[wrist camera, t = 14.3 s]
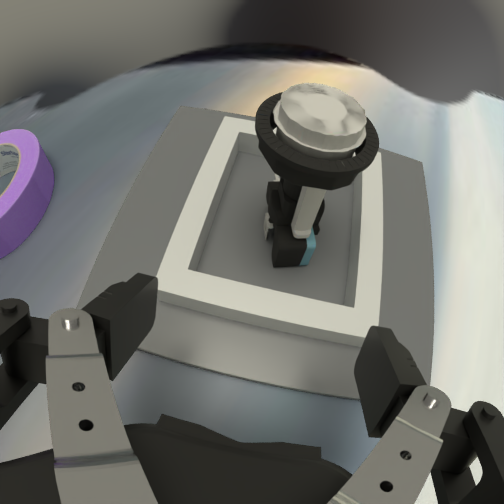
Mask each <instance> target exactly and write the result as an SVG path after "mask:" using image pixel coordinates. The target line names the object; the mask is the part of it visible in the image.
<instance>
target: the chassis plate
mask: <svg viewBox="0 0 504 504" xmlns="http://www.w3.org/2000/svg"><path fill="white" fill-rule="evenodd" d="M255 118H256V117H251V116H246V115H240V114H234V113H228V112H222V111H215V110H208V109H201V108H193V107H185V106H180V107H179V109H178V110H177V112H176V113H175V115H174V116H173V118H172V119H171V121H170V123H169V124H168V126H167V127H166V129H165V131H164V132H163V134H162V135H161V137H160V139H159V140H158V142H157V144H156V145H155V147H154V149H153V150H152V152H151V154H150V156H149V157H148V159H147V161H146V162H145V164H144V166H143V168H142V170H141V171H140V173H139V175H138V177H137V178H136V180H135V182H134V184H133V186H132V188H131V190H130V191H129V193H128V195H127V197H126V199H125V201H124V203H123V205H122V207H121V209H120V211H119V213H118V215H117V217H116V219H115V221H114V223H113V225H112V227H111V229H110V231H109V233H108V235H107V237H106V239H105V242H104V244H103V246H102V248H101V250H100V252H99V255H98V257H97V259H96V261H95V264H94V266H93V268H92V271H91V273H90V275H89V278H88V280H87V282H86V285H85V287H84V290H83V292H82V295H81V297H80V300H79V302H78V305H77V307H76V309H80V310H81V309H82V308H83V307H84V306H86V305H87V304H88V303H89V302H91V301H92V300H93V299H94V298H96V297H98V295H99V294H101V293H102V292H104V290H106V289H107V288H108V287H109V286H111V285H113V284H116V283H119V282H122V281H124V282H127V281H128V280H129V279H130V278H132V277H133V276H134V275H135V274H137V273H142V274H146V275H150V276H154V277H157V278H158V293H157V305H156V317H155V321H154V325H153V327H152V329H151V331H150V332H149V333H148V335H147V336H146V337H145V339H144V340H143V341H142V343H141V344H140V345H139V347H138V348H137V349H139V350H142V351H145V352H148V353H151V354H154V355H157V356H160V357H163V358H166V359H170V360H173V361H176V362H180V363H183V364H187V365H190V366H194V367H197V368H201V369H205V370H208V371H212V372H216V373H220V374H224V375H228V376H232V377H236V378H240V379H244V380H249V381H253V382H257V383H262V384H267V385H271V386H276V387H281V388H286V389H292V390H297V391H303V392H308V393H314V394H320V395H326V396H333V397H340V398H347V399H354V400H360V397H359V393H358V389H357V385H356V381H355V377H354V366H355V362H356V359H357V357H358V354H359V352H360V350H361V347H362V345H363V342H364V340H365V337H366V335H367V332H368V330H369V328H370V327H371V326H373V325H374V326H379V327H385V328H391V329H392V331H393V333H394V335H395V337H396V338H397V340H398V342H399V343H401V344H402V345H403V346H404V347H406V348H407V349H408V350H409V352H410V353H411V355H412V357H413V359H414V360H413V361H415V363H416V365H417V368H419V370H420V372H421V374H422V376H423V378H424V380H425V382H426V384H427V385H428V386H430V380H431V368H432V355H433V336H434V270H433V251H432V237H431V225H430V215H429V207H428V198H427V191H426V184H425V177H424V171H423V165H422V162H420V161H417V160H414V159H411V158H408V157H405V156H402V155H399V154H396V153H393V152H390V151H387V150H384V149H381V148H379V149H378V152H377V154H376V157H375V159H374V161H373V162H372V164H371V165H370V166H369V167H368V168H366V169H365V170H364V171H362V172H360V173H359V174H358V175H357V176H356V178H355V179H354V181H353V182H352V183H351V184H350V185H349V186H345V187H342V188H339V189H335V190H326V193H325V195H324V200H325V210H324V213H323V215H322V217H321V220H320V222H319V226H320V231H319V233H318V235H314V236H315V240H316V248H315V250H314V252H313V254H312V256H311V259H310V261H309V264H308V265H301V266H286V267H273V264H272V247H273V240H274V229H268V236H267V240H265V235H264V220H265V216H266V215H265V214H266V213H268V205H267V200H266V192H267V186H268V182H269V181H274V180H276V178H275V173H274V172H273V170H272V169H271V167H270V166H269V164H268V162H267V161H266V159H265V158H264V156H263V154H262V153H261V151H260V150H259V148H258V144H259V140H258V137H257V135H256V131H255ZM276 130H277V127H276V128H275V129H274V130H273V132H274V133H275V135H276ZM353 156H356V155H355V152H354V155H353ZM278 177H279V178H280V176H278Z"/></svg>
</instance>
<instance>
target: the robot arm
mask: <svg viewBox="0 0 504 504" xmlns="http://www.w3.org/2000/svg"><path fill="white" fill-rule="evenodd" d="M157 293H158V278H157V277H154V276H150V275H146V274H142V273H137V274H135V275H134V276H133V277H132V278H130V279H129V280H128V281H127V282H124V281H122V282H119V283H116V284H113V285H111V286H109V287H108V288H107V289H106V290H104V292H102V293H101V294H99V295H98V297H96V298H94V299H93V300H92V301H91V302H89V303H88V304H87V305H86V306H84V307H83V308H82V309H81V310H80V309H74V308H67V309H61V310H58V311H56V312H54V313H53V314H52V315H51V316H50V318H49V320H48V319H42V318H36V317H31V316H30V312H29V306H28V304H27V303H26V302H25V301H23V300H20V299H14V298H9V299H3V300H0V354H1V357H2V361H3V363H2V364H1V365H0V430H1V429H2V427H3V426H4V425H5V424H6V422H7V421H8V420H9V419H10V417H11V416H12V415H13V414H14V412H15V411H16V410H17V409H18V407H19V406H20V405H21V404H22V403H23V401H24V400H25V399H26V398H27V397H28V395H29V394H30V393H31V392H32V391H33V389H34V388H35V387H36V386H37V385H38V383H42V384H47V398H48V410H49V420H50V429H51V437H52V444H53V449H50V450H46V451H43V452H40V453H36V454H33V455H29V456H25V457H22V458H18V459H14V460H10V461H6V462H2V463H0V504H414V503H415V501H416V499H417V497H418V495H419V494H420V492H421V490H422V488H423V486H424V484H425V482H426V479H427V477H428V475H429V473H430V472H431V476H432V480H433V484H434V488H435V492H436V496H437V500H438V504H504V417H503V416H502V414H501V412H500V411H499V410H498V409H497V408H496V407H495V406H493V405H492V404H490V403H487V402H484V401H477V402H475V403H473V405H472V406H471V408H470V409H469V411H468V412H465V411H461V410H457V409H454V408H451V401H450V399H449V398H448V396H447V395H446V394H445V393H444V392H442V391H441V390H439V389H437V388H435V387H432V386H428V385H427V384H426V382H425V380H424V378H423V376H422V374H421V372H420V370H419V368H417V365H416V363H415V361H413V360H414V359H413V357H412V355H411V353H410V352H409V350H408V349H407V348H406V347H404V346H403V345H402V344H401V343H399V342H398V340H397V338H396V337H395V335H394V333H393V331H392V329H391V328H385V327H379V326H374V325H373V326H371V327H370V328H369V330H368V332H367V335H366V337H365V340H364V342H363V345H362V347H361V350H360V352H359V354H358V357H357V359H356V362H355V366H354V377H355V381H356V385H357V389H358V393H359V397H360V401H361V405H362V409H363V414H364V418H365V422H366V427H367V431H368V436H369V437H375V438H381V440H380V441H379V442H378V444H377V445H376V446H375V448H374V449H373V450H372V452H371V453H370V454H369V456H368V457H367V458H366V459H365V461H364V462H363V463H362V464H361V466H360V467H359V468H358V469H357V471H356V472H355V473H354V474H353V475H352V474H351V473H349V472H348V471H347V470H345V469H343V468H342V467H340V466H338V465H336V464H334V463H332V462H329V461H327V460H324V459H321V447H314V446H306V445H299V444H291V443H285V442H272V443H242V442H237V441H235V440H232V439H230V438H228V437H225V436H223V435H221V434H219V433H216V432H214V431H212V430H210V429H208V428H206V427H203V426H201V425H198V424H195V423H191V422H187V421H184V420H180V419H177V418H173V417H170V416H167V415H164V414H162V415H161V417H160V419H159V421H158V423H157V424H144V423H141V424H129V425H123V422H122V419H121V416H120V413H119V410H118V407H117V404H116V401H115V397H114V394H113V391H112V387H111V384H110V380H111V381H113V380H114V379H115V377H116V376H117V375H118V373H119V372H120V371H121V369H122V368H123V367H124V365H125V364H126V363H127V361H128V360H129V359H130V357H131V356H132V355H133V353H134V352H135V351H136V349H137V348H138V347H139V345H140V344H141V343H142V341H143V340H144V339H145V337H146V336H147V335H148V333H149V332H150V331H151V329H152V327H153V325H154V321H155V317H156V305H157ZM477 456H478V459H479V461H480V464H481V466H482V470H483V474H482V478H481V480H480V482H479V483H478V484H477V485H475V482H474V479H473V476H472V473H471V470H470V468H469V466H470V465H471V463H472V462H473V461H474V460H475V459H476V458H477Z"/></svg>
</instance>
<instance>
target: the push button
mask: <svg viewBox="0 0 504 504" xmlns="http://www.w3.org/2000/svg"><path fill="white" fill-rule="evenodd" d="M276 127H277V130H276V135H275V133H274V132H273V130H274V129H275V128H276ZM255 131H256V135H257V137H258V140H259V144H258V148H259V150H260V151H261V153H262V154H263V156H264V158H265V159H266V161H267V162H268V164H269V166H270V167H271V169H272V170H273V172H274V173H275V178H276V180H274V181H269V182H268V186H267V192H266V200H267V205H268V213H266V214H265V215H266V216H265V220H264V235H265V240H267V236H268V229H274V240H273V247H272V264H273V267H286V266H301V265H308V264H309V261H310V259H311V256H312V254H313V252H314V250H315V248H316V240H315V236H314V235H318V233H319V231H320V226H319V222H320V220H321V217H322V215H323V213H324V210H325V200H324V195H325V193H326V190H335V189H339V188H342V187H345V186H349V185H350V184H351V183H352V182H353V181H354V179H355V178H356V176H357V175H358V174H359V173H360V172H362V171H364V170H365V169H366V168H368V167H369V166H370V165H371V164H372V162H373V161H374V159H375V157H376V154H377V152H378V149H379V138H378V134H377V132H376V129H375V128H374V126H373V124H372V123H371V121H370V120H369V119H368V118H367V117H366V116H365V111H364V109H363V108H362V107H361V106H360V104H359V103H358V102H357V101H356V100H355V99H354V98H353V97H351V96H349V95H348V94H346V93H344V92H343V91H341V90H339V89H336V88H334V87H330V86H327V85H323V84H316V83H303V84H298V85H294V86H291V87H289V88H288V89H287V90H286V91H284V92H282V93H278V94H276V95H273V96H271V97H270V98H268V99H266V100H265V101H264V102H263V103H262V104H261V105H260V107H259V108H258V110H257V113H256V118H255ZM354 152H355V155H356V156H353V155H354ZM278 176H280V178H279V177H278Z"/></svg>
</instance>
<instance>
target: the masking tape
mask: <svg viewBox="0 0 504 504" xmlns="http://www.w3.org/2000/svg"><path fill="white" fill-rule="evenodd" d="M12 171H16V172H15V174H14V176H13V178H12V180H11V182H10V184H9V185H8V187H7V188H6V189H5V191H4V192H3V193H2V194H1V196H0V259H1V258H3V257H5V256H6V255H8V254H9V253H11V252H12V251H13V250H15V249H16V248H17V247H18V246H19V245H20V244H22V243H23V242H24V240H25V239H26V238H27V237H28V236H29V235H30V234H31V233H32V231H33V230H34V229H35V227H36V226H37V225H38V223H39V221H40V220H41V218H42V217H43V215H44V213H45V211H46V209H47V207H48V205H49V202H50V199H51V196H52V192H53V187H54V172H53V169H52V166H51V164H50V163H49V161H48V159H47V157H46V155H45V153H44V151H43V149H42V147H41V145H40V143H39V141H38V139H37V138H36V136H35V135H34V134H33V133H31V132H30V131H27V130H23V129H14V130H9V131H5V132H2V133H0V177H1V176H3V175H5V174H7V173H9V172H12Z"/></svg>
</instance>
